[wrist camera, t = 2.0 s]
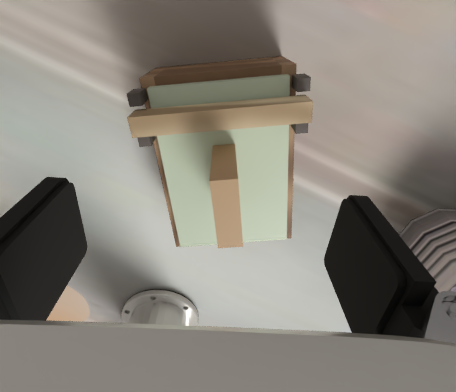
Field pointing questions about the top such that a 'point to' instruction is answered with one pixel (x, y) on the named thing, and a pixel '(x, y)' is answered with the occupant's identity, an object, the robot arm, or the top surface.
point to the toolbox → (222, 73)
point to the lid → (226, 167)
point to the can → (435, 245)
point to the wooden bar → (221, 116)
